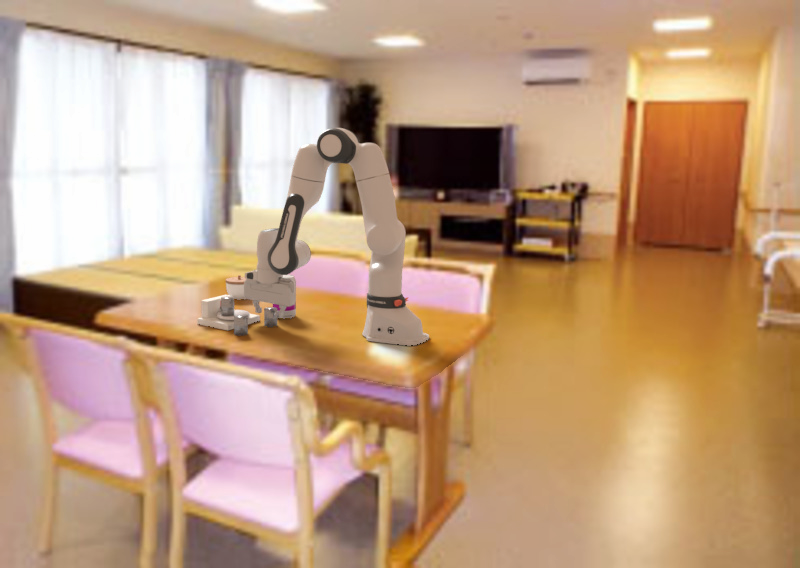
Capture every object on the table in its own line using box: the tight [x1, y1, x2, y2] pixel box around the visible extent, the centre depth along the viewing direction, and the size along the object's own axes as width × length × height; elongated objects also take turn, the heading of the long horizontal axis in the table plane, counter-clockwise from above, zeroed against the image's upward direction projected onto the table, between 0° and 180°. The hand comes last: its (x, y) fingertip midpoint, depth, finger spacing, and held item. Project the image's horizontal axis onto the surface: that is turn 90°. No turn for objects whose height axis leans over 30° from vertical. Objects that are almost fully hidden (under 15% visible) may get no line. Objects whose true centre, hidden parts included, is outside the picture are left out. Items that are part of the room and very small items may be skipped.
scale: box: [196, 294, 261, 331], centre depth 242 cm, size 14×16×8 cm
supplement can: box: [272, 274, 297, 320], centre depth 253 cm, size 8×8×15 cm
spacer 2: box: [233, 315, 249, 337], centre depth 229 cm, size 4×4×6 cm
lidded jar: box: [225, 274, 247, 301], centre depth 280 cm, size 11×11×9 cm
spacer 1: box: [221, 296, 235, 316], centre depth 239 cm, size 4×4×6 cm
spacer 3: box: [263, 306, 278, 328], centre depth 241 cm, size 4×4×6 cm
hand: (269, 314), depth 241 cm, fingers open, 8 cm apart
